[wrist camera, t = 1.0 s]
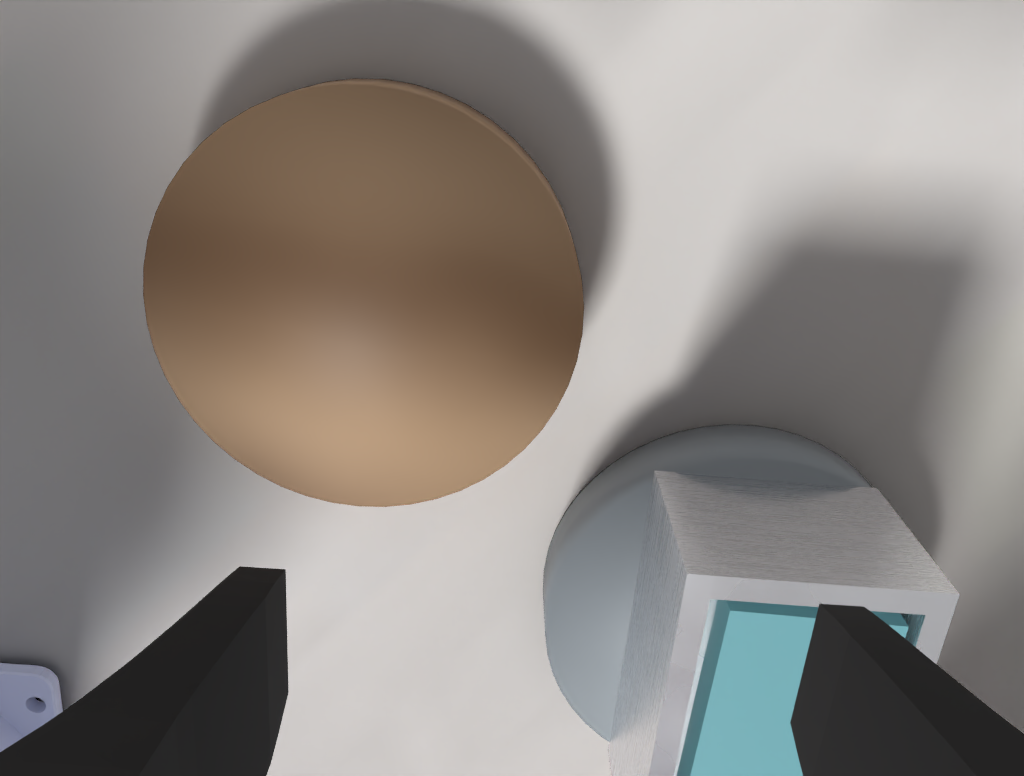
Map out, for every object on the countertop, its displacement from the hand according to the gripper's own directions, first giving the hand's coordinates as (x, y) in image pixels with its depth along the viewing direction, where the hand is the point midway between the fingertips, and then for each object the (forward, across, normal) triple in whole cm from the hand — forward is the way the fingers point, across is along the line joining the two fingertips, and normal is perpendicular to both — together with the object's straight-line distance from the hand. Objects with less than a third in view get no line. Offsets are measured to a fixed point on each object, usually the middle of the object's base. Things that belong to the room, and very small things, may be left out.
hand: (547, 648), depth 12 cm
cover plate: (+5, -5, +5) cm, 9 cm away
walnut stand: (+10, +4, -2) cm, 10 cm away
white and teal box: (+8, -5, +5) cm, 11 cm away
